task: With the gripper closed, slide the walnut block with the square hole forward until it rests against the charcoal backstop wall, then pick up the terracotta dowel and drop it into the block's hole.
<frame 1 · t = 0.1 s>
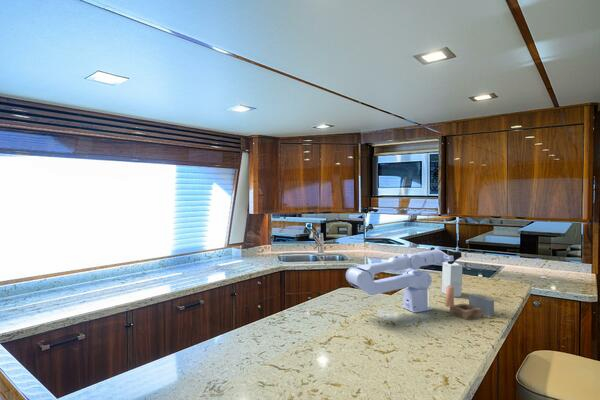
hand: (453, 253, 155), 22 cm above the countertop, tool horizontal, fingers open, 7 cm apart
skincare box: (451, 295, 168), on the countertop
backstop wall: (481, 312, 143), on the countertop
block: (465, 311, 140), point 2 cm above the countertop, slide at 0.0 cm
dowel: (450, 306, 151), on the countertop
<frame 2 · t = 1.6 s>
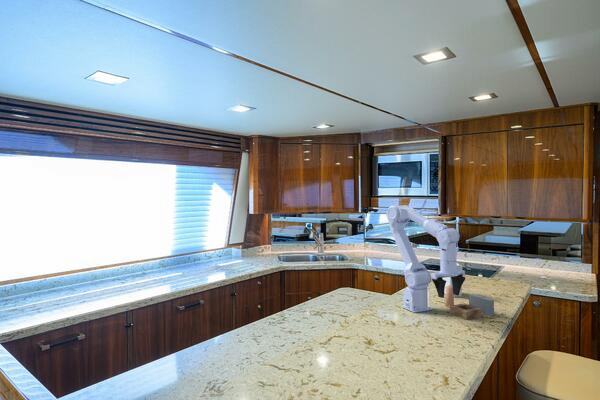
hand: (448, 296, 136), 8 cm above the countertop, tool pointing down, fingers open, 7 cm apart
nothing on the countertop moved.
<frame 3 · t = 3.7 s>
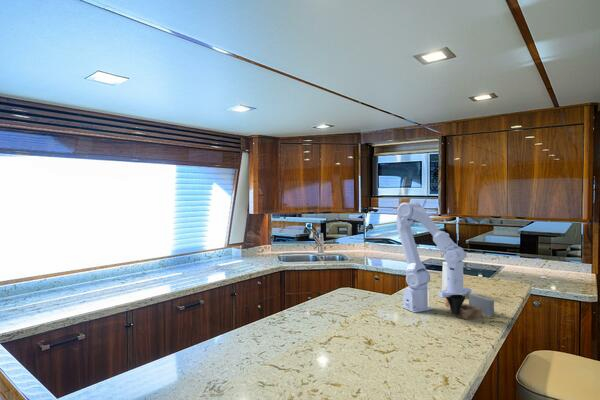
hand: (455, 314, 138), 1 cm above the countertop, tool pointing down, fingers closed
block: (465, 311, 140), point 1 cm above the countertop, slide at 0.0 cm, touching gripper
everything else where it was.
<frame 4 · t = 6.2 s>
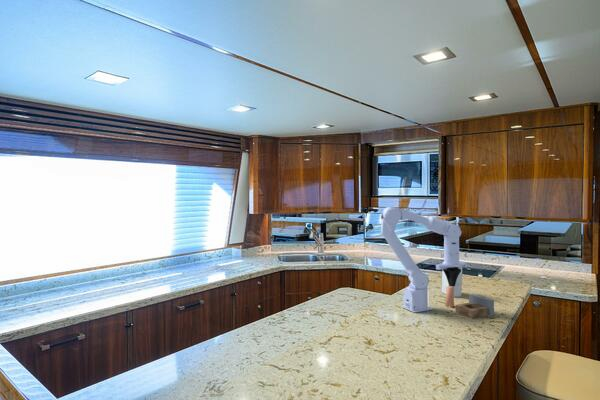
hand: (451, 285, 147), 9 cm above the countertop, tool pointing down, fingers closed
block: (471, 310, 141), point 2 cm above the countertop, slide at 3.0 cm
everything else where it was.
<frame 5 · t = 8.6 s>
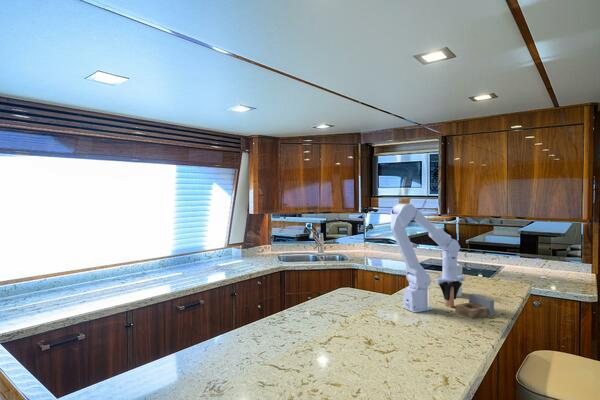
hand: (450, 299, 151), 3 cm above the countertop, tool pointing down, fingers closed on dowel, 3 cm apart
dowel: (450, 306, 151), on the countertop, touching gripper
everything else where it was.
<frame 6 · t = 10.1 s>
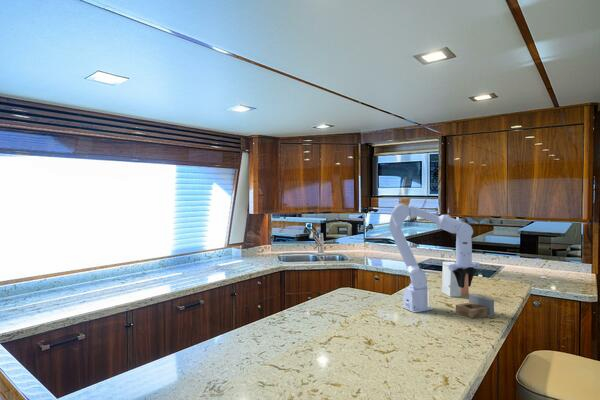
hand: (464, 286, 144), 10 cm above the countertop, tool pointing down, fingers closed on dowel, 3 cm apart
dowel: (464, 293, 144), point 7 cm above the countertop, touching gripper
everything else where it was.
when the fingers open (4 cm above the countertop, at t = 12.0 s): dowel drops 2 cm, resting in block.
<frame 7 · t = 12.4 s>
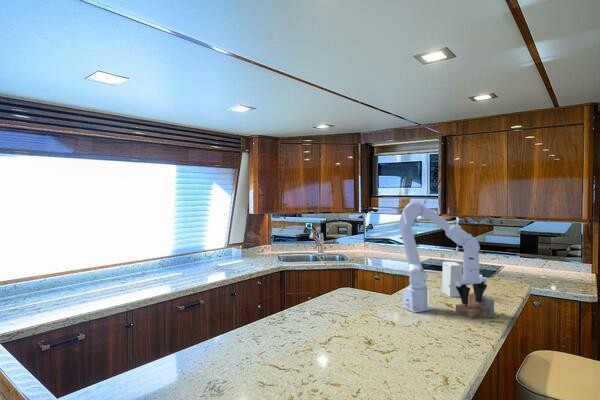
hand: (471, 302, 141), 4 cm above the countertop, tool pointing down, fingers open, 6 cm apart
dowel: (471, 314, 141), resting in block
everything else where it was.
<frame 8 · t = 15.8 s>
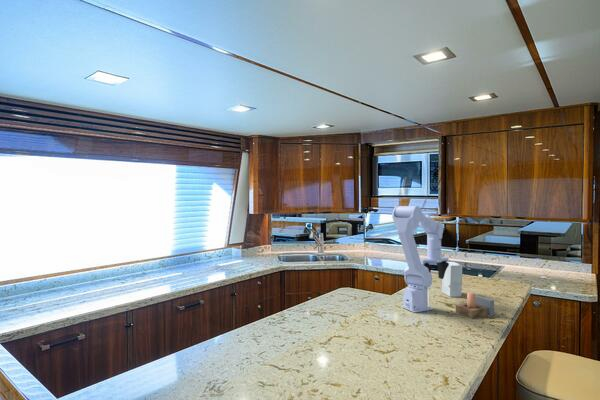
hand: (434, 279, 159), 9 cm above the countertop, tool pointing down, fingers open, 7 cm apart
nothing on the countertop moved.
at the end: block slide at 3.0 cm; dowel 0.0 cm off-centre on the block, point 0.0 cm above the block's base; dowel tilted 0° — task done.
